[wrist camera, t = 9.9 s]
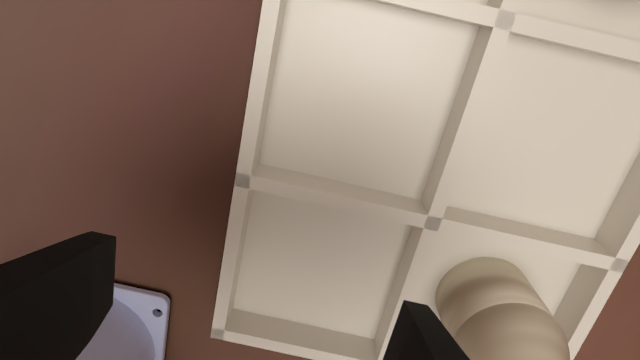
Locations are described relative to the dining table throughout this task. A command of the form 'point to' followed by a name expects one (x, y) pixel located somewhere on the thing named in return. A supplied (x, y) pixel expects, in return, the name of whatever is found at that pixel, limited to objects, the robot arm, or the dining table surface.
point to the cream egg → (498, 313)
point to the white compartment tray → (429, 164)
